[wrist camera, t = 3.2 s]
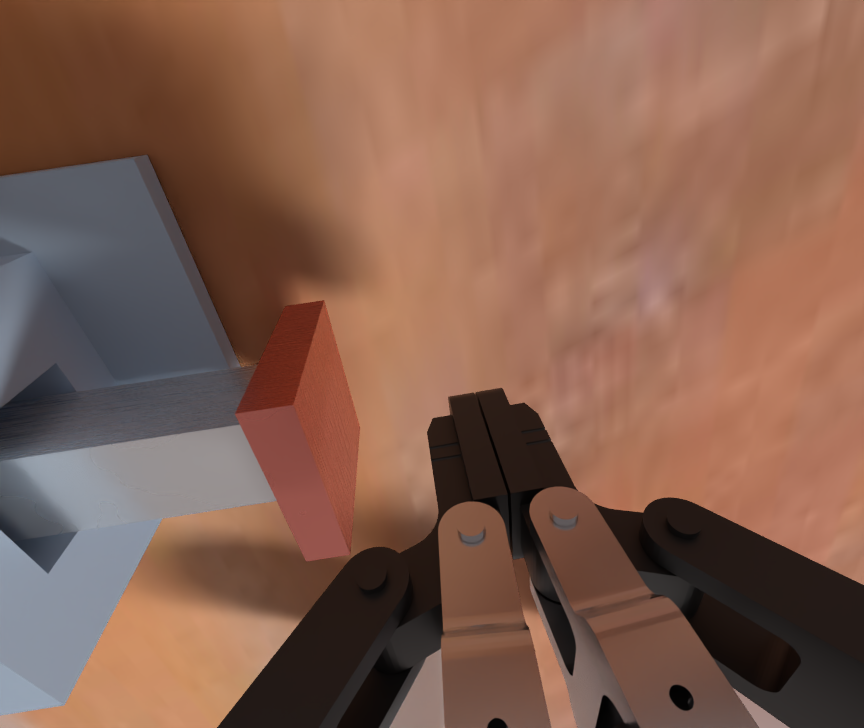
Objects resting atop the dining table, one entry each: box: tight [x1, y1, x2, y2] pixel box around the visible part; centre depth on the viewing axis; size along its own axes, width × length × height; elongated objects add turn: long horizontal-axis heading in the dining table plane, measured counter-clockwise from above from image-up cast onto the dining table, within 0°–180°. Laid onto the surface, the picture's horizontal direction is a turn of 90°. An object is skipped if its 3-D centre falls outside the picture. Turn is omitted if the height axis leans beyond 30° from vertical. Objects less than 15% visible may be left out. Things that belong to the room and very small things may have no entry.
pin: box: [0, 300, 360, 562], centre depth 12 cm, size 13×5×5 cm, turn 97°
